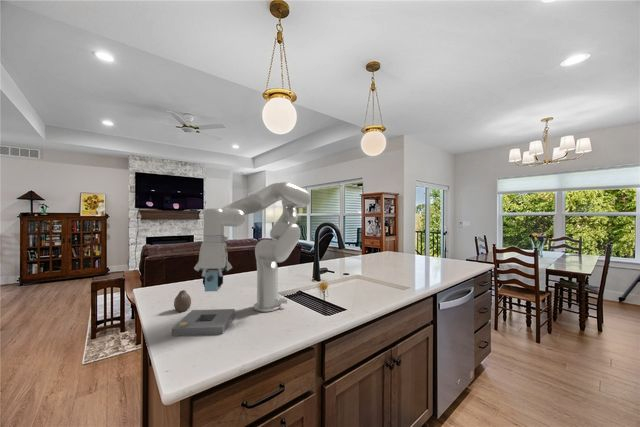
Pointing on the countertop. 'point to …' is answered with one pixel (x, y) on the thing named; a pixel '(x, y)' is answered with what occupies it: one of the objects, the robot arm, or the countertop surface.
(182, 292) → the brown egg-shaped lump
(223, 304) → the countertop surface
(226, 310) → the socket plate
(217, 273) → the plug
